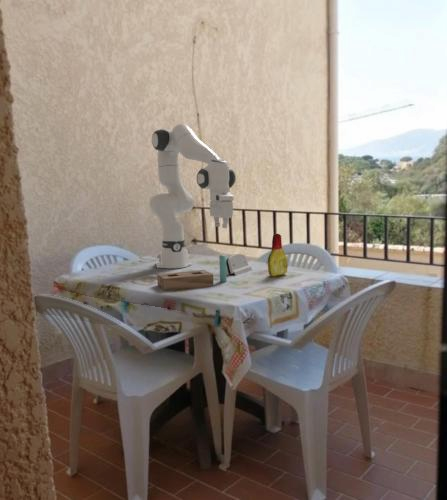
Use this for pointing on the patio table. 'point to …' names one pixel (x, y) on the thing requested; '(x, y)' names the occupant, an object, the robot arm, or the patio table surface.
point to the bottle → (277, 258)
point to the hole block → (185, 280)
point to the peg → (222, 268)
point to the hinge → (237, 264)
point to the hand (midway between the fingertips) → (221, 227)
